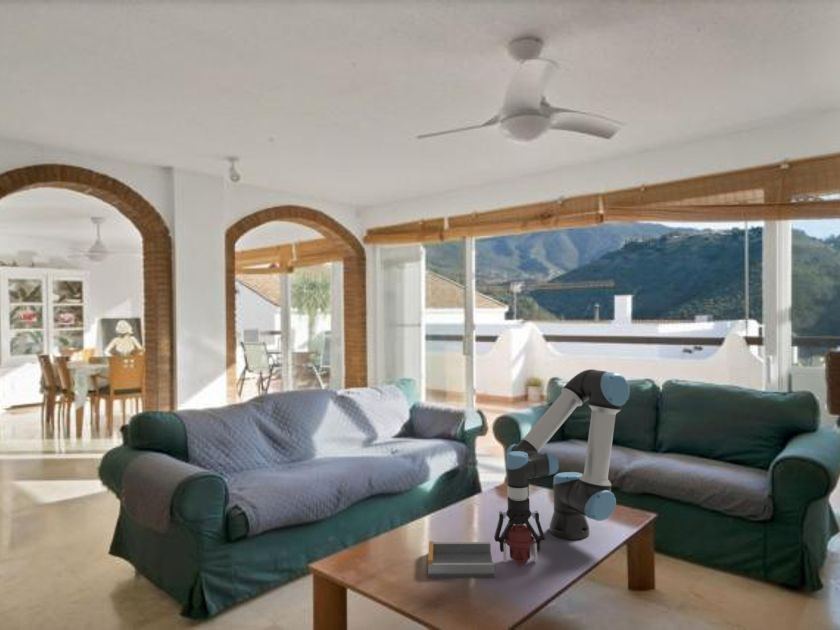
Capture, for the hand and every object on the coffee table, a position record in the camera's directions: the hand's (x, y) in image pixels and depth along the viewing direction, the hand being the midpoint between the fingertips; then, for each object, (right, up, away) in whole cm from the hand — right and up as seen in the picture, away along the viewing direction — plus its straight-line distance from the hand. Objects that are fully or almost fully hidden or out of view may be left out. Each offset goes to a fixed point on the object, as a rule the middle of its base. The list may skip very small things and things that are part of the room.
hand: (520, 560), depth 199 cm
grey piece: (-21, -1, -1) cm, 21 cm away
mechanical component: (0, -1, 0) cm, 1 cm away
